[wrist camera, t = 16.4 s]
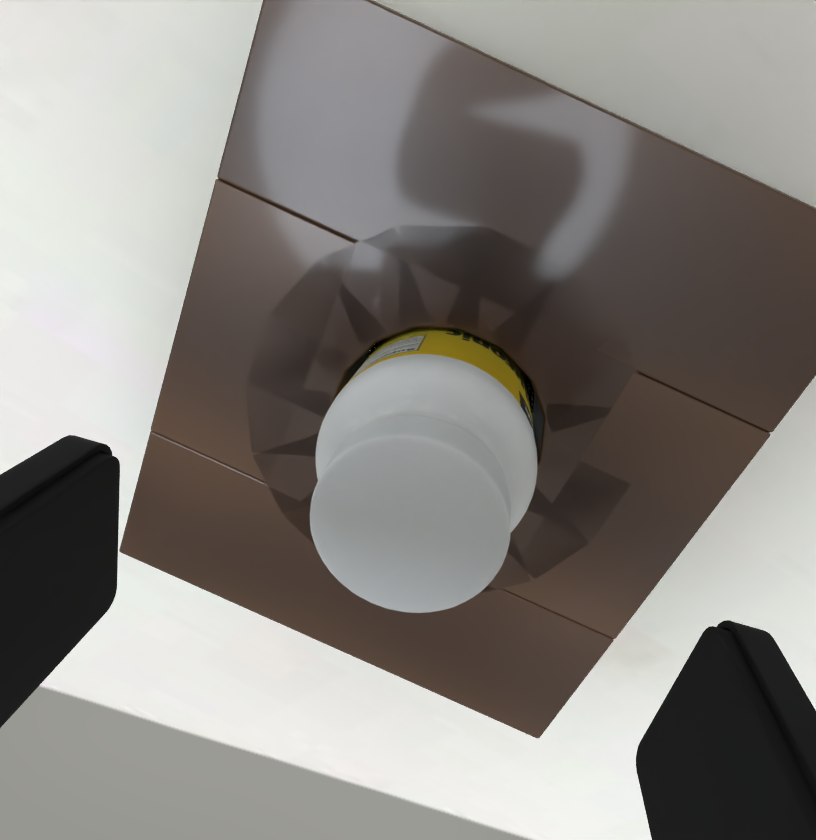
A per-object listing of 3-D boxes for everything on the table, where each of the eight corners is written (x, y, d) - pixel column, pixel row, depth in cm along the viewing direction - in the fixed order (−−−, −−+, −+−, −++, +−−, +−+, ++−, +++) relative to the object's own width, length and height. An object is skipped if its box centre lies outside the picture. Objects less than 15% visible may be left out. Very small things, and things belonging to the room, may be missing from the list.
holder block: (323, 5, 17) (273, -47, 13) (823, 238, 17) (911, 251, 13) (177, 496, 24) (117, 552, 20) (533, 656, 24) (538, 740, 20)
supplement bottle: (555, 409, 20) (599, 587, 11) (423, 477, 22) (368, 678, 13) (475, 272, 19) (451, 347, 10) (342, 355, 21) (217, 484, 12)
